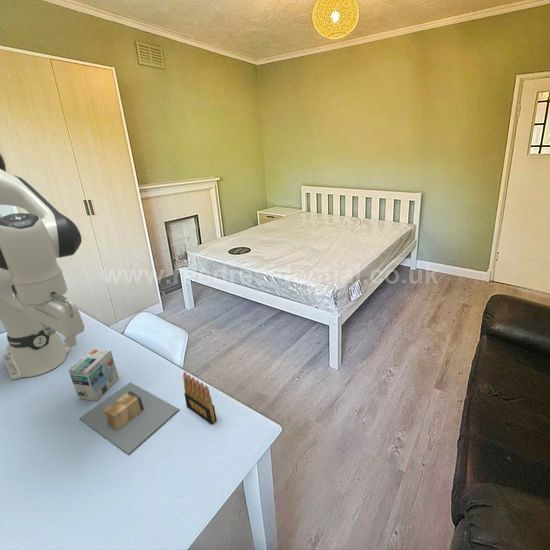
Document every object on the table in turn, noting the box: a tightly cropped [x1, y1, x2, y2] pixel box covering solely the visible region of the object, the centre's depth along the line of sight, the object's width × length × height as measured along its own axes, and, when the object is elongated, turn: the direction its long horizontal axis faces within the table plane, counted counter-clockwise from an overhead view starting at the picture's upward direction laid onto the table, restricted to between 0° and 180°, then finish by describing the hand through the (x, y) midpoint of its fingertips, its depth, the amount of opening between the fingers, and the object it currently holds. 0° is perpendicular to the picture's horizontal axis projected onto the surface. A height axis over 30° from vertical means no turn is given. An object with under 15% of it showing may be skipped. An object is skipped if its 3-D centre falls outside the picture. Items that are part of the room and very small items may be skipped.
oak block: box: [104, 391, 144, 429], centre depth 88 cm, size 4×4×8 cm
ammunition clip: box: [182, 371, 217, 425], centre depth 87 cm, size 11×2×12 cm, turn 51°
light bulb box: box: [67, 348, 120, 402], centre depth 99 cm, size 11×7×11 cm, turn 168°
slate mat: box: [79, 381, 180, 456], centre depth 90 cm, size 22×16×1 cm
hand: (60, 339), depth 78 cm, fingers open, 8 cm apart
